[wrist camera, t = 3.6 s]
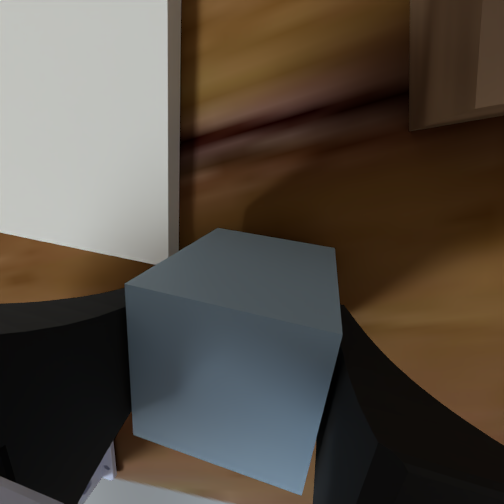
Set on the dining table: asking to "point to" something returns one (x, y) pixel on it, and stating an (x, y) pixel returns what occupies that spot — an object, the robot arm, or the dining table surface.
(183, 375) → the blue block
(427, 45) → the walnut block
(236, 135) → the dining table surface
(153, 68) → the plate
